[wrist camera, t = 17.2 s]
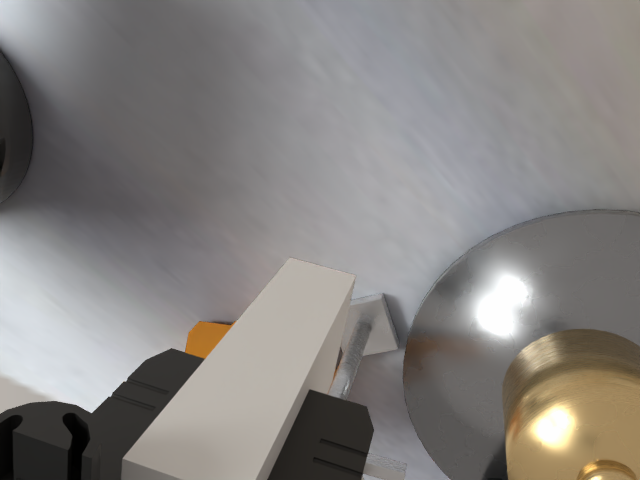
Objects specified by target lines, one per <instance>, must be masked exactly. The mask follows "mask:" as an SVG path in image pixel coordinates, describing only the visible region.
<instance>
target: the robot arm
mask: <svg viewBox="0 0 640 480" xmlns="http://www.w3.org/2000/svg"><path fill="white" fill-rule="evenodd" d="M31 152H32V124H31V117H30V112H29V108H28V104H27V101H26V98H25V95H24V92H23V90H22V87H21V85H20V83H19V81H18V79H17V76H16V75H15V73H14V71H13V69H12V68H11V66H10V65H9V63H8V61H7V60H6V59H5V57H4V56H3V55H2V53H1V52H0V203H1V202H2V201H4V200H5V199H7V198H8V197H9V196H10V195H11V194H12V193H13V192H14V191H15V190H16V189H17V187H18V186H19V185H20V183H21V182H22V180H23V178H24V176H25V174H26V171H27V168H28V165H29V162H30V157H31ZM355 279H356V275H353V274H349V273H346V272H342V271H338V270H335V269H331V268H327V267H324V266H320V265H316V264H313V263H309V262H305V261H302V260H298V259H294V258H291V257H290V258H289V259H288V260H287V261H286V262H285V264H284V265H283V266H282V267H281V268H280V270H279V271H278V272H277V273H276V274H275V276H274V277H273V278H272V279H271V280H270V282H269V283H268V284H267V285H266V286H265V288H264V289H263V290H262V291H261V292H260V294H259V295H258V296H257V297H256V298H255V300H254V301H253V302H252V303H251V304H250V306H249V307H248V308H247V309H246V311H245V312H244V313H243V314H242V315H241V317H240V318H239V319H238V320H237V321H236V323H235V324H234V325H233V326H232V327H231V329H230V330H229V331H228V332H227V333H226V335H225V336H224V337H223V338H222V339H221V341H220V342H219V343H218V344H217V345H216V347H215V348H214V349H213V350H212V351H211V353H210V354H209V355H208V356H207V357H206V359H204V358H201V357H198V356H195V355H191V354H188V353H185V352H182V351H179V350H175V349H172V348H171V349H169V350H167V351H165V352H163V353H160V354H158V355H156V356H154V357H151V358H149V359H147V360H145V361H144V362H143V363H142V364H141V365H140V366H139V367H138V368H137V369H136V370H135V371H134V372H133V373H132V374H131V375H130V376H129V377H128V379H127V381H126V382H125V381H124V382H123V383H122V384H121V385H120V386H119V387H118V388H117V389H116V390H115V391H114V392H113V394H112V396H111V397H108V398H107V399H106V400H105V401H104V402H103V403H102V404H101V405H100V406H99V407H98V408H97V409H96V410H95V411H94V412H93V413H90V412H88V411H86V410H84V409H82V408H81V407H79V406H77V405H73V404H68V403H62V402H57V401H50V402H35V403H29V404H25V405H22V406H18V407H15V408H12V409H8V410H6V411H4V412H3V413H1V414H0V480H361V479H362V475H363V471H364V467H365V463H366V459H367V455H368V451H369V447H370V444H371V440H372V436H373V432H374V429H373V425H372V422H371V419H370V416H369V412H368V409H367V407H366V406H363V405H359V404H356V403H353V402H350V401H346V400H343V399H340V398H337V397H334V396H330V395H327V393H328V391H329V388H330V386H331V383H332V381H333V377H334V372H335V368H336V363H337V359H338V354H339V350H340V346H341V341H342V337H343V332H344V328H345V323H346V319H347V315H348V310H349V306H350V301H351V297H352V292H353V288H354V284H355Z"/></svg>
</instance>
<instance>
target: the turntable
mask: <svg viewBox="0 0 640 480" xmlns="http://www.w3.org/2000/svg"><path fill="white" fill-rule="evenodd" d="M571 329H596V330H601V331H607V332H610V333H614V334H617V335H619V336H622V337H624V338H626V339H628V340H630V341H632V342H634V343H635V344H637V345H638V346H640V213H637V212H631V211H623V210H600V209H595V210H581V211H568V212H563V213H558V214H553V215H547V216H542V217H539V218H536V219H532V220H529V221H526V222H523V223H520V224H517V225H514V226H512V227H510V228H508V229H505V230H503V231H501V232H499V233H497V234H494V235H492V236H491V237H489V238H487V239H486V240H484V241H482V242H481V243H479V244H478V245H476V246H474V247H473V248H471V249H470V250H469V251H467V252H466V253H465V254H464V255H462V256H461V257H460V258H459V259H457V260H456V261H455V262H454V263H453V264H452V265H451V266H450V267H449V268H448V269H447V270H446V271H445V272H444V273H443V274H442V275H441V276H440V277H439V278H438V279H437V281H436V282H435V283H434V285H433V286H432V288H431V289H430V290H429V292H428V293H427V295H426V296H425V298H424V299H423V301H422V303H421V305H420V307H419V309H418V311H417V313H416V315H415V317H414V320H413V323H412V326H411V329H410V332H409V335H408V340H407V345H406V350H405V356H404V363H403V385H404V393H405V400H406V404H407V408H408V411H409V415H410V419H411V421H412V423H413V426H414V428H415V430H416V433H417V435H418V437H419V439H420V440H421V442H422V444H423V445H424V447H425V449H426V450H427V452H428V454H429V455H430V456H431V458H432V459H433V460H434V461H435V463H436V464H437V465H438V467H439V468H440V469H441V470H442V471H443V472H444V473H445V474H446V475H447V476H448V477H449V478H450V479H451V480H508V473H507V459H506V445H505V431H504V417H503V403H502V385H503V381H504V377H505V374H506V372H507V369H508V368H509V366H510V364H511V363H512V361H513V360H514V359H515V357H516V356H517V355H518V354H519V353H520V352H521V351H522V350H523V349H524V348H525V347H527V346H528V345H530V344H531V343H532V342H534V341H536V340H538V339H540V338H542V337H544V336H547V335H549V334H552V333H556V332H559V331H564V330H571Z"/></svg>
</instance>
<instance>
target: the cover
mask: <svg viewBox="0 0 640 480" xmlns="http://www.w3.org/2000/svg"><path fill="white" fill-rule="evenodd" d="M502 403H503V417H504V431H505V445H506V459H507V473H508V480H640V346H638V345H637V344H635V343H634V342H632V341H630V340H628V339H626V338H624V337H622V336H619V335H617V334H614V333H610V332H607V331H601V330H596V329H571V330H564V331H559V332H556V333H552V334H549V335H547V336H544V337H542V338H540V339H538V340H536V341H534V342H532V343H531V344H530V345H528V346H527V347H525V348H524V349H523V350H522V351H521V352H520V353H519V354H518V355H517V356H516V357H515V359H514V360H513V361H512V363H511V364H510V366H509V368H508V369H507V372H506V374H505V377H504V381H503V385H502Z"/></svg>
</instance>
